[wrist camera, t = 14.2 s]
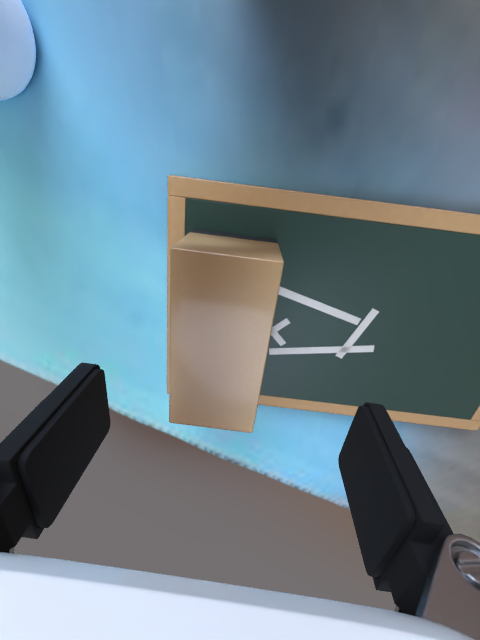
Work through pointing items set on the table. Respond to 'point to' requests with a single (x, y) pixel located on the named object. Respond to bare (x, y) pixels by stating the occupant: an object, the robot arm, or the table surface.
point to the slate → (356, 299)
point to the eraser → (220, 326)
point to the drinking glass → (15, 48)
